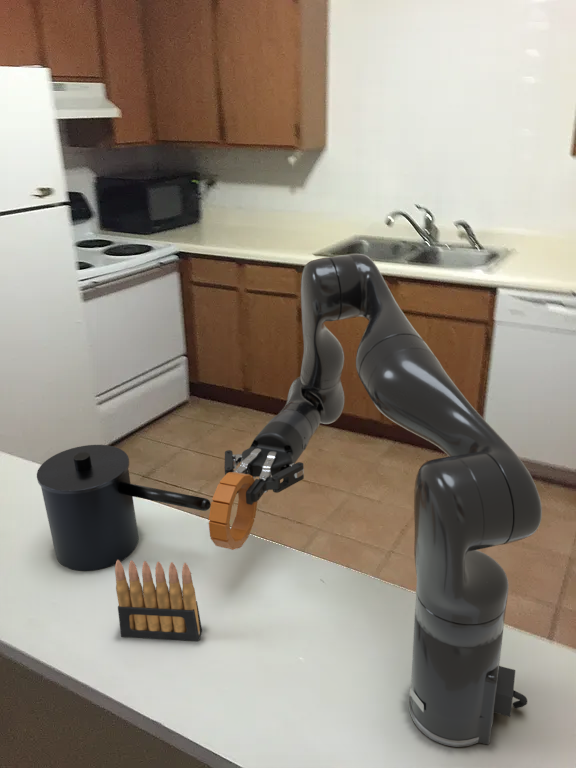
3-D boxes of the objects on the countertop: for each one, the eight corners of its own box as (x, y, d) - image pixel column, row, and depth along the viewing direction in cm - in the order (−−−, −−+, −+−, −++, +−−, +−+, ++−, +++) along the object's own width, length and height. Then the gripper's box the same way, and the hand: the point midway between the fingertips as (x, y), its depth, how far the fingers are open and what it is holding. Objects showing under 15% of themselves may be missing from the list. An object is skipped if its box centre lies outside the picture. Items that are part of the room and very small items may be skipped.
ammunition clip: (202, 630, 90) (194, 558, 85) (199, 641, 88) (190, 567, 83) (125, 626, 91) (113, 555, 86) (120, 636, 89) (107, 564, 84)
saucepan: (235, 545, 106) (228, 456, 100) (194, 602, 95) (183, 505, 88) (88, 513, 116) (73, 429, 109) (35, 561, 104) (14, 471, 98)
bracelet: (259, 521, 100) (255, 461, 96) (229, 564, 92) (223, 500, 87) (243, 518, 101) (239, 459, 97) (212, 560, 93) (205, 497, 88)
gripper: (242, 414, 111) (192, 466, 96) (322, 426, 106) (282, 483, 91) (245, 454, 114) (196, 510, 99) (323, 467, 109) (284, 528, 94)
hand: (238, 496), depth 95 cm, fingers closed on bracelet, 2 cm apart
